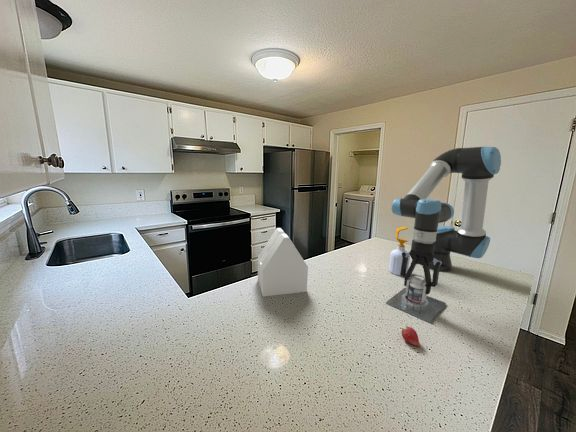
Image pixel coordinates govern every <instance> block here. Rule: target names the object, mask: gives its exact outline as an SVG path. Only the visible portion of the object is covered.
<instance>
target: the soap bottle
mask: <svg viewBox="0 0 576 432" xmlns="http://www.w3.org/2000/svg"><path fill="white" fill-rule="evenodd" d="M405 230H408V227H407V226H401V227H397V228H396V230H395V239H396V240H397V241H398V243H399V244H397V248H396V249H393V250H392V251H391V252H390V255H389V256H390V257H389V263H388V264H389V266H388V272H390V273H391V274H393V275H395V276H400V277H402V276H401V275H400V272H401V266H402V260H403V257H402V253H403V252H405V251H406V252H408V251H407V250H405V248H406V246H405V243H408V242H409V241H408V240H407V239H405V238H399V234H400V232H401V231H405ZM410 260H411V256H410V255H409V257H408V263H407V269H406V273H407V271H408V269H409V267H410Z"/></svg>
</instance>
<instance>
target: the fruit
mask: <svg viewBox="0 0 576 432" xmlns="http://www.w3.org/2000/svg"><path fill="white" fill-rule="evenodd" d="M407 325H408V324H405V327H403V328H402V329H401V337H402V338H403V339H404V341H405V343H408V344H410V345H411V346H415V347H419V346H421V343H420V341H419V335H418V333H417V331H416V330H415V329H414V328H413V327H411V326H407Z"/></svg>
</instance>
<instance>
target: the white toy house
mask: <svg viewBox="0 0 576 432" xmlns="http://www.w3.org/2000/svg"><path fill="white" fill-rule="evenodd" d="M308 271H309V266H308V264H307V263H306V262H305V260H304V259H303V256H302V255H301V254H300V252H299V251H298V249H297V248H296V246H295V244H294V243H293V241H292V240H291V238H290V237H289V236H288V234H287V233H285V231H284V230H283V229H282V227H276V228H275V230H274V232H273V233H272V234H271V236H270V238H269V239H268V241H267V242H266V244H265V245H264V247H263V248H262V250H261V251H260V253H259V254H258V256H257V281H258V286H259V289H260V292H261V295H262V297H271V296H278V295H289V294H297V293H306V292H308V275H309V273H308Z"/></svg>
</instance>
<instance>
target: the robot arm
mask: <svg viewBox="0 0 576 432" xmlns="http://www.w3.org/2000/svg"><path fill="white" fill-rule="evenodd" d="M501 165H502V156H501V152H500V150H499V148H497V147H495V146H474V147H472V146H471V147H456V148H453V149H450V150H447V151H445V152H443V153H441V154H439V155H438V156H436V157H435V158H434V159H433V160H432V161H431V163H429V165H428V169H427V170H426V172H425V173H424V174H423V175H422V176H421V178H419V180H418V181H417V182H416V183H415V184H414V185H413V186H412V188H411V189H410V190H409V191H408V192H407V194H406V195H405V196H404V197H403V198H402V197H400V198H395V199H394V200H393V201H392V203H391V211H392V213H393V215H395V216H400V217H404V218H410V219H414V226H413V231H412V241H411V246H410V250H409V251H407V250H405V252H403V253H402V257H403V260H402V266H401V272H400V275H401V276H400V275H399V276H400V277H402V278H404V281H403V282H404V283H403V285H404V287H405V288H406V293H405V295H406V296H408V292H409V285H410V282H411V281H412V278H411V277H412V276H411V275H412V274H413V272H414V270H415V267H416V266H417V265H419V266H422V269H423V273H424V282H425V284H424V287H423V294H422V300H421V302H424V301H425V300H426V297H427V296H428V295H429V294H430V293H431V290H432V287H433V288H436V286H437V285H439V283H438V282H439V277H440V276H439V275H440V272H449V271H452V269H453V264H452V259H451V258H452V257H451V253H454V254H459V255H463V256H466V257H469V258H475V259H481V258H483V257H484V255H485V254H486V252H487V250H488V248H489V246H490V241H491V237H489V236H488V235H487V231H486V230H485V229H484V220H485V219H484V218H485V212H486V203H487V196H488V187H489V181H491V180H492V179H493V178H494V176H495V175H496V174H498V173H500V170H501ZM451 174H461V179H462V180H464V190H463V202H462V210H461V221H460V222H461V223H460V226H459V227H458V228H457V229H455V227H454V226H451V225H439V224H441V223H445V222H448V221H450V220H451V219H452V218H453V217H454V214H455V210H454V207H453V205H451V204H450V203H448V202H441V200H439V199H431V198H428V197H429V196H430V195H431V194H432V193H433V191H434V189H436V188H437V186H438V185H439V184H440V183H441V181H442V180H443V179H444V178H446V177H448V176H449V175H451ZM406 251H407V252H406ZM409 255H410V259H411V261H410V264H409V267H408V271H407V273H406V269H407V263H408V257H409ZM431 270H433V271H432V272H433V273H432V275H431Z"/></svg>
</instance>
